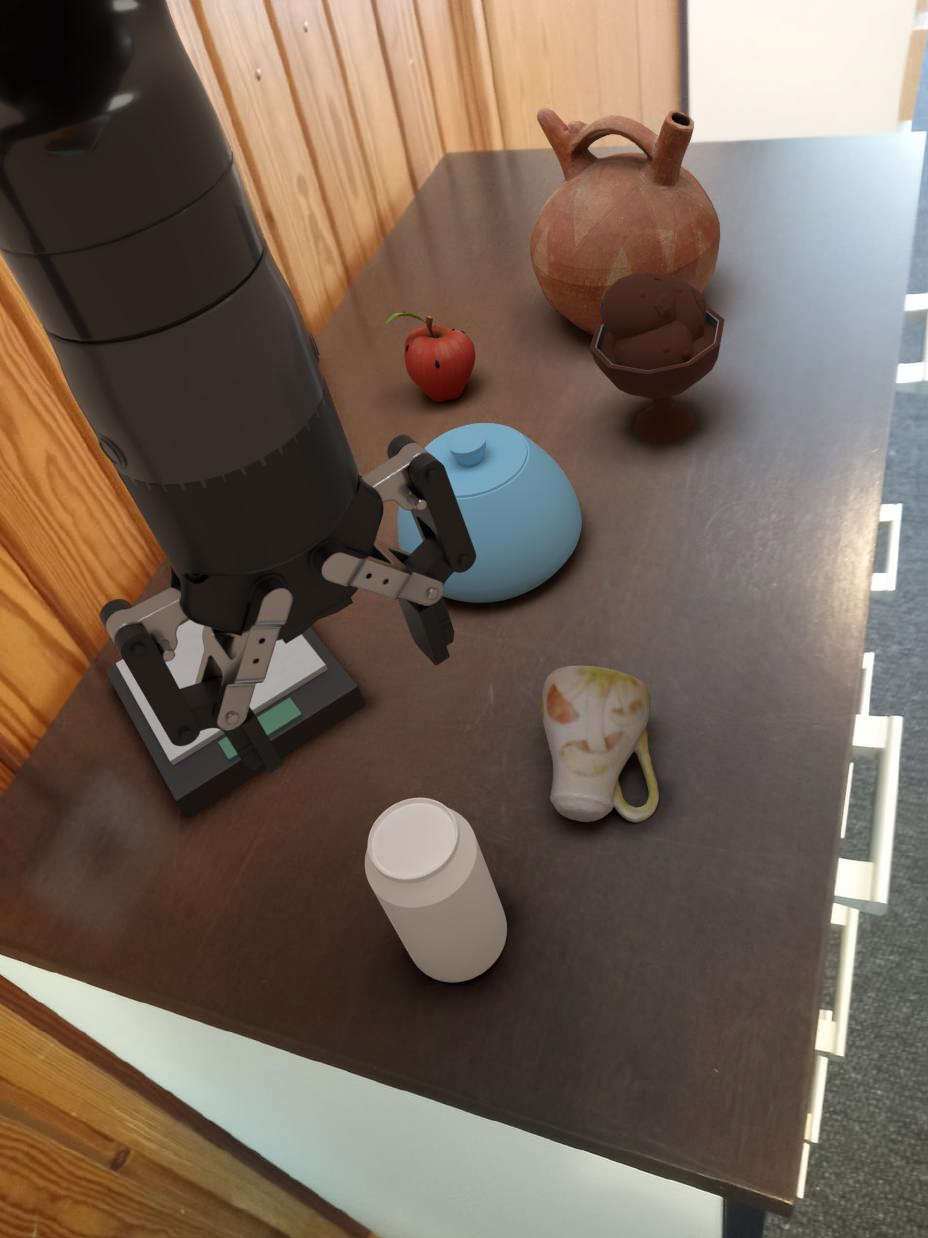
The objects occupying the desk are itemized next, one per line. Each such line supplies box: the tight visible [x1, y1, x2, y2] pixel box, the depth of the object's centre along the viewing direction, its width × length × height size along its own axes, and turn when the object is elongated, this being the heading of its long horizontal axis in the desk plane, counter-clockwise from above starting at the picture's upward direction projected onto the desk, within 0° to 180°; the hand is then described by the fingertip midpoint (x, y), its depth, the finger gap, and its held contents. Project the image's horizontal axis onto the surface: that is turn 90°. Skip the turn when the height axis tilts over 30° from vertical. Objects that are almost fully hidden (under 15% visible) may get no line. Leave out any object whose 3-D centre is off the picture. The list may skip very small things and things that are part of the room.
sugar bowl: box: [396, 422, 583, 604], centre depth 81 cm, size 15×15×12 cm
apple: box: [381, 311, 476, 403], centre depth 99 cm, size 8×7×10 cm
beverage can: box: [364, 797, 508, 983], centre depth 58 cm, size 6×6×12 cm
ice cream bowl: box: [589, 273, 725, 445], centre depth 86 cm, size 11×11×15 cm
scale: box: [105, 619, 367, 819], centre depth 79 cm, size 15×16×3 cm
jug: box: [529, 107, 721, 337], centre depth 98 cm, size 18×18×20 cm
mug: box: [540, 665, 660, 824], centre depth 67 cm, size 8×10×10 cm
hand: (352, 703), depth 45 cm, fingers open, 8 cm apart
